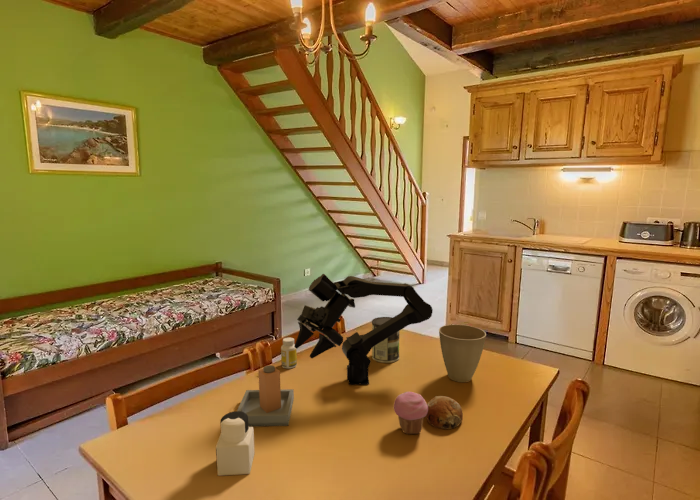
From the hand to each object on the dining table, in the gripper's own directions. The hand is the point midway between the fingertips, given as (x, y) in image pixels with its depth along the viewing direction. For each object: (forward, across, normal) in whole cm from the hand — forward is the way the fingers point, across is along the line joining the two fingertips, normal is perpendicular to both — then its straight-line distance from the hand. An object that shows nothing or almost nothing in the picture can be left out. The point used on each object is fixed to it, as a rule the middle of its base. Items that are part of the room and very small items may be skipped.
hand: (302, 352), depth 122 cm
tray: (+19, +2, 0) cm, 19 cm away
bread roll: (-7, +34, +27) cm, 44 cm away
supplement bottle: (+6, -21, +14) cm, 26 cm away
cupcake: (0, +32, +19) cm, 38 cm away
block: (+17, +2, 0) cm, 18 cm away
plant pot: (-24, +20, +44) cm, 54 cm away
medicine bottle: (+30, +19, -10) cm, 36 cm away
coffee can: (-17, -6, +37) cm, 41 cm away
